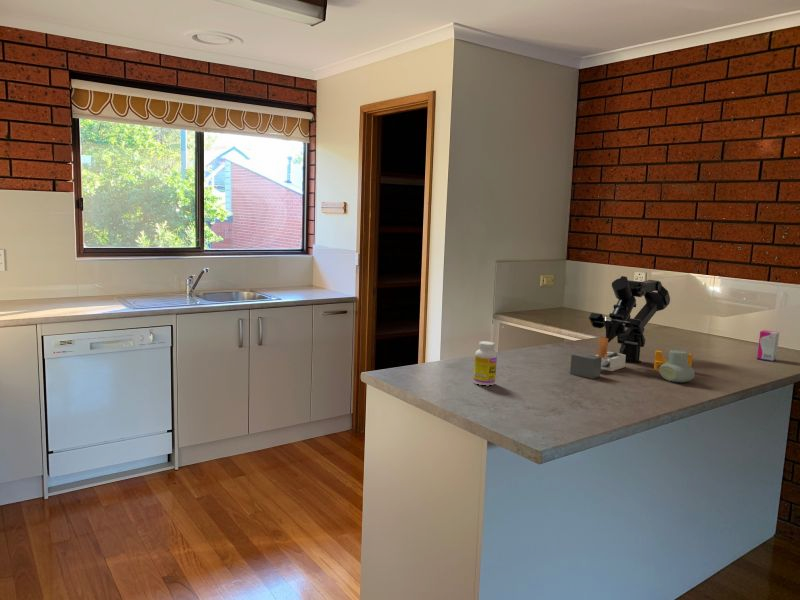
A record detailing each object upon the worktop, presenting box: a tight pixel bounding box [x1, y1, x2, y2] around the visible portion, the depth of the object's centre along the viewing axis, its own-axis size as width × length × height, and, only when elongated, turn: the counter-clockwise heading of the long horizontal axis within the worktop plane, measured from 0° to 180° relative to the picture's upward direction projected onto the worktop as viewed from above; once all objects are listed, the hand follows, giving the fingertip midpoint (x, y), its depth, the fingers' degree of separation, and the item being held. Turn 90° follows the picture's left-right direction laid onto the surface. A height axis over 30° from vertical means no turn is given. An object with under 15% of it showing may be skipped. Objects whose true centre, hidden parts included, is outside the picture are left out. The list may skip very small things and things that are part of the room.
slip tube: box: [597, 336, 619, 367], centre depth 221 cm, size 16×4×10 cm, turn 137°
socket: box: [569, 352, 602, 380], centre depth 211 cm, size 6×8×7 cm
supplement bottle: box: [473, 340, 498, 387], centre depth 193 cm, size 7×7×13 cm
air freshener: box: [658, 349, 696, 384], centre depth 209 cm, size 11×8×10 cm
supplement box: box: [756, 330, 780, 363], centre depth 251 cm, size 6×6×12 cm
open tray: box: [594, 351, 626, 372], centre depth 224 cm, size 10×7×4 cm, turn 137°
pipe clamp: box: [653, 349, 693, 371], centre depth 224 cm, size 12×4×6 cm, turn 73°
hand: (607, 341), depth 220 cm, fingers closed
